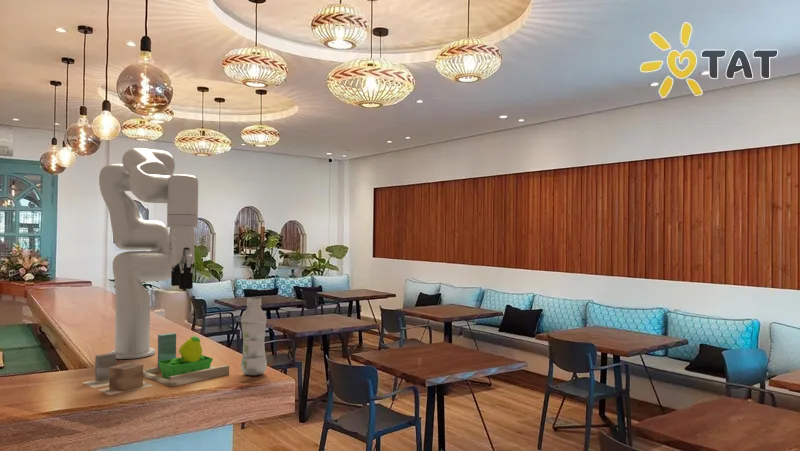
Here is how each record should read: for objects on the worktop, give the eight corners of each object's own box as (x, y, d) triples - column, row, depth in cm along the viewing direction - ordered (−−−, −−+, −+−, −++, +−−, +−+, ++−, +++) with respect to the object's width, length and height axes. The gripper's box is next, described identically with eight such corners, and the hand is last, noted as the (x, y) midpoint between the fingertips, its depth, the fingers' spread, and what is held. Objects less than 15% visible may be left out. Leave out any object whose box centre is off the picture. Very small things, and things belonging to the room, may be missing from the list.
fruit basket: (198, 373, 146) (198, 330, 146) (216, 378, 140) (217, 334, 140) (156, 381, 137) (156, 336, 137) (174, 388, 131) (174, 341, 132)
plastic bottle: (260, 378, 140) (260, 300, 140) (235, 377, 141) (236, 299, 142) (270, 372, 146) (271, 297, 147) (247, 371, 148) (248, 296, 148)
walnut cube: (109, 389, 126) (109, 367, 126) (128, 383, 131) (128, 362, 131) (124, 391, 124) (124, 369, 124) (143, 386, 128) (143, 364, 129)
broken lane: (81, 387, 131) (82, 357, 132) (124, 379, 139) (124, 350, 139) (109, 400, 121) (109, 367, 122) (153, 390, 129) (153, 359, 129)
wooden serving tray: (136, 377, 140) (136, 337, 140) (191, 366, 152) (191, 330, 152) (171, 390, 128) (172, 347, 129) (229, 377, 140) (229, 338, 140)
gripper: (160, 222, 149) (160, 285, 149) (174, 221, 134) (173, 291, 134) (189, 222, 153) (188, 283, 153) (205, 221, 139) (204, 289, 138)
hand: (181, 287), depth 144 cm, fingers open, 9 cm apart
